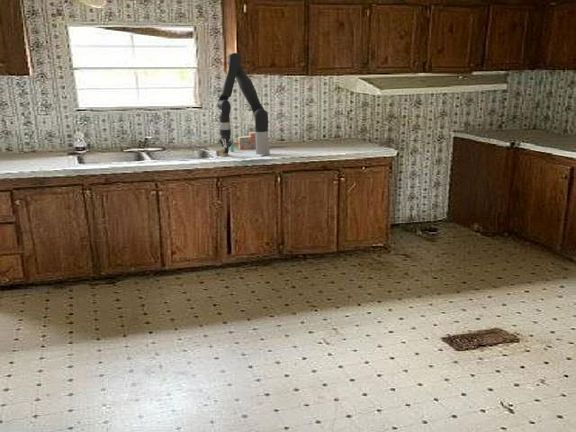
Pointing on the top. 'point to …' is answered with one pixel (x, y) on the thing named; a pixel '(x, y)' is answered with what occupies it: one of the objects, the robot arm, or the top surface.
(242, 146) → the stack of blocks
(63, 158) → the top surface
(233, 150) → the dowel
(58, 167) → the top surface
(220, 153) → the block
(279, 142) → the top surface
